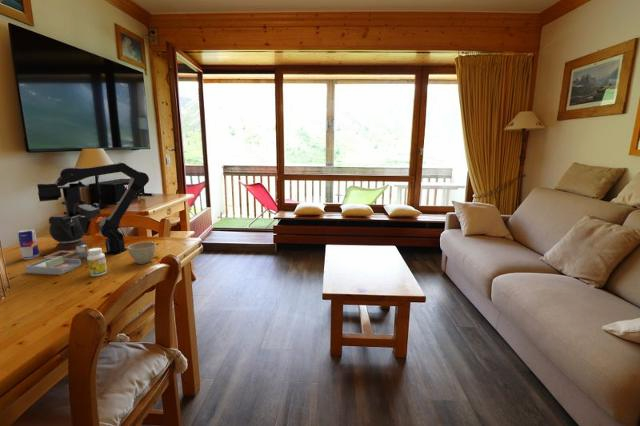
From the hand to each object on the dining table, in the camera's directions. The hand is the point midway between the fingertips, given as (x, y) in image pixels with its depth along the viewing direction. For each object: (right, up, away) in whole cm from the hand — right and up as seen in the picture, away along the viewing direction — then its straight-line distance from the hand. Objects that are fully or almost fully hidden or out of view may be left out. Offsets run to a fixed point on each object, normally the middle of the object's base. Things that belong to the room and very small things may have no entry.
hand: (79, 235), depth 128 cm
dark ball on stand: (-17, -7, +16) cm, 24 cm away
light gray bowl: (+28, -11, -1) cm, 30 cm away
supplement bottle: (+18, -14, -13) cm, 26 cm away
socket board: (-7, -10, 0) cm, 13 cm away
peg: (0, -10, +2) cm, 10 cm away
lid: (-4, -11, -9) cm, 15 cm away
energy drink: (-22, -10, +2) cm, 24 cm away
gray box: (-2, -12, -9) cm, 16 cm away
